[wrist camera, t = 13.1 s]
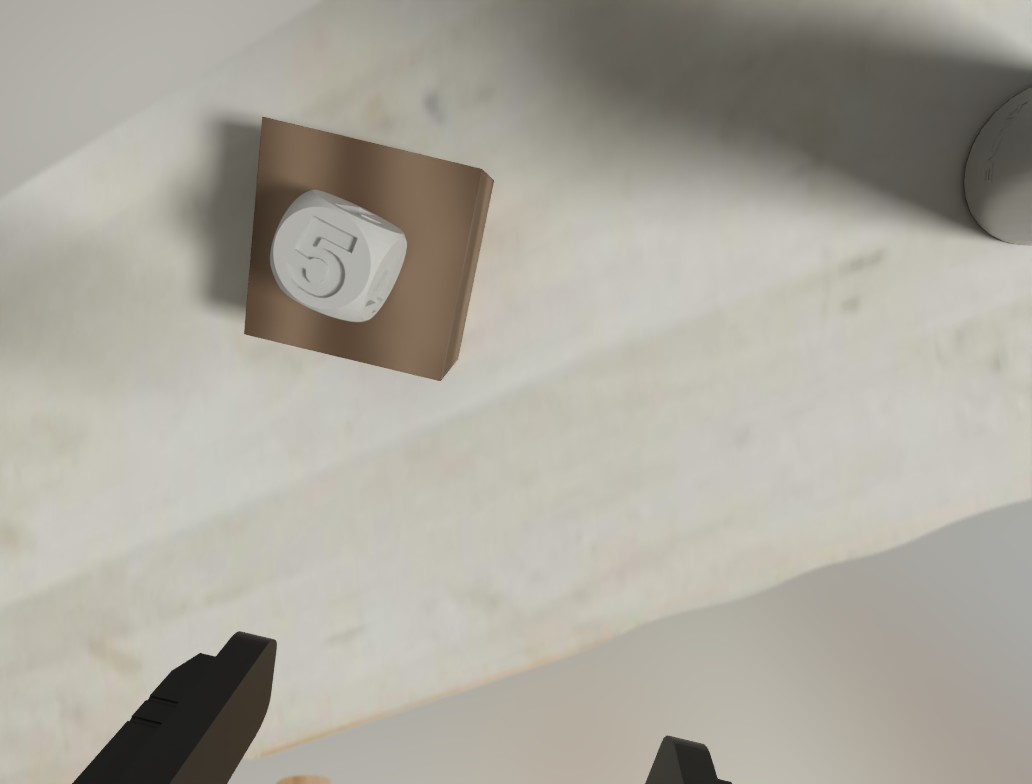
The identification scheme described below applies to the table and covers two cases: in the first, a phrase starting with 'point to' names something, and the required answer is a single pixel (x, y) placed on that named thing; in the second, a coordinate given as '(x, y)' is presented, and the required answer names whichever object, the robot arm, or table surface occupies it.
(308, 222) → the die
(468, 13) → the table surface
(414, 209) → the pedestal
